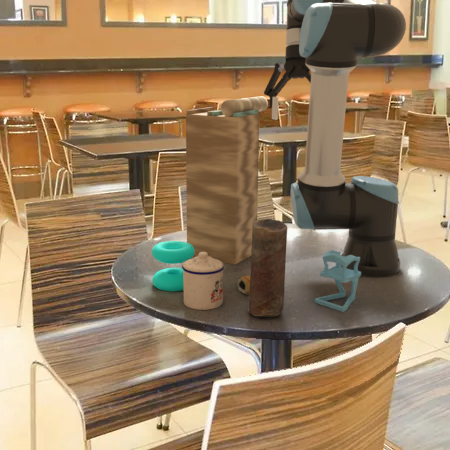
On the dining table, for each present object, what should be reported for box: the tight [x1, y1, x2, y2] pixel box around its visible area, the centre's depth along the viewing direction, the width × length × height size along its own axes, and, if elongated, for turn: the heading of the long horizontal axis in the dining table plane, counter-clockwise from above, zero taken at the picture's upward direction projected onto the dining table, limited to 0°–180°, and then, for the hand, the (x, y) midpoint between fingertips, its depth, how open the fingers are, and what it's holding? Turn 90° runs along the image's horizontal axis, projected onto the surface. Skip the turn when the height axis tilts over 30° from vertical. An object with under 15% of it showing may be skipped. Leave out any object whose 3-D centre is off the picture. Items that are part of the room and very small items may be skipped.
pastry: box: [236, 275, 250, 296], centre depth 152 cm, size 9×7×4 cm
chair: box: [314, 249, 362, 313], centre depth 144 cm, size 8×8×12 cm
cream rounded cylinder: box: [220, 95, 269, 117], centre depth 170 cm, size 18×4×4 cm, turn 149°
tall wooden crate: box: [185, 106, 260, 265], centre depth 174 cm, size 12×15×39 cm
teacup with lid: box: [181, 252, 225, 311], centre depth 145 cm, size 12×9×12 cm
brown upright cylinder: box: [248, 218, 288, 318], centre depth 136 cm, size 8×7×20 cm
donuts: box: [151, 240, 195, 292], centre depth 154 cm, size 10×10×10 cm
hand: (295, 118), depth 193 cm, fingers open, 13 cm apart
